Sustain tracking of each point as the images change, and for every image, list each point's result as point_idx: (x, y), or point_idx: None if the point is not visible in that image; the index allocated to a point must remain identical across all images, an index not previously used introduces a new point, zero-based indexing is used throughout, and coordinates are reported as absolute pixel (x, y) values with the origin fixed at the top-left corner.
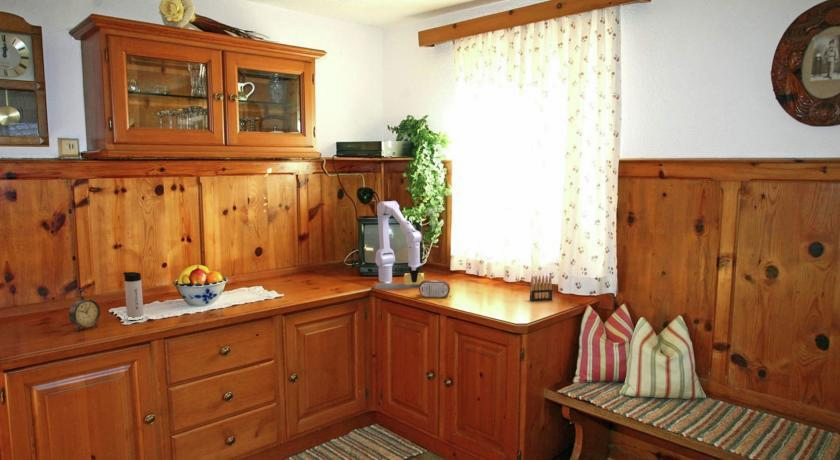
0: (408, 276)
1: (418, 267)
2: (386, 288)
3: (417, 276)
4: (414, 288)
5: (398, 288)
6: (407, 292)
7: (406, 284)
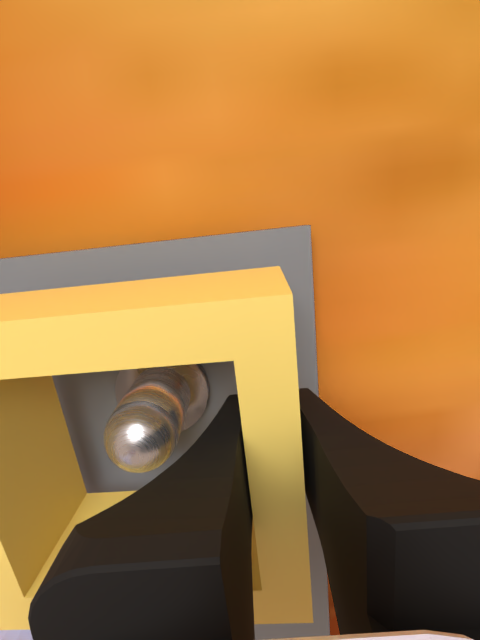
0: (303, 566)
1: (185, 608)
2: (317, 614)
3: (299, 422)
4: (304, 371)
5: (314, 524)
6: (396, 419)
7: (109, 476)
